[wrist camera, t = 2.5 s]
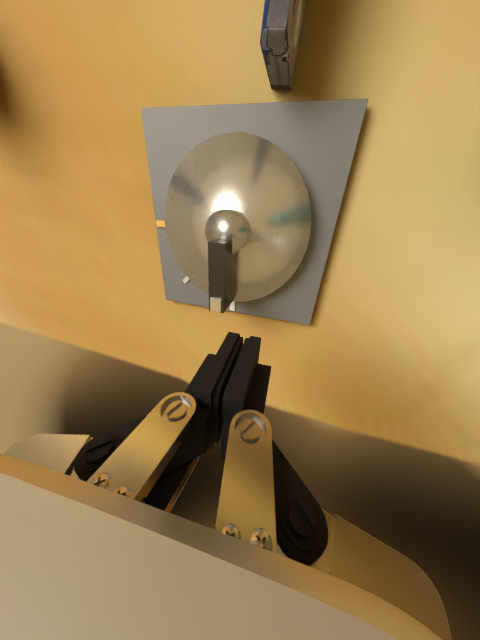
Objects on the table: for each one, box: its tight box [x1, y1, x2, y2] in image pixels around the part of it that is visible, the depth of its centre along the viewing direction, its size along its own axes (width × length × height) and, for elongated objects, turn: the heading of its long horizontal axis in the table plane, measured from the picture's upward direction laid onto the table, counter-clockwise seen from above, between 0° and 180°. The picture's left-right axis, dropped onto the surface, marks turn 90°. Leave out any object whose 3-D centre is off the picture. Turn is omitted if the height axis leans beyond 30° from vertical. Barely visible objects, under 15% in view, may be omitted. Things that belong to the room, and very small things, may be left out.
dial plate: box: [141, 98, 369, 325], centre depth 20 cm, size 18×18×1 cm
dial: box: [165, 132, 311, 313], centre depth 18 cm, size 14×14×5 cm
